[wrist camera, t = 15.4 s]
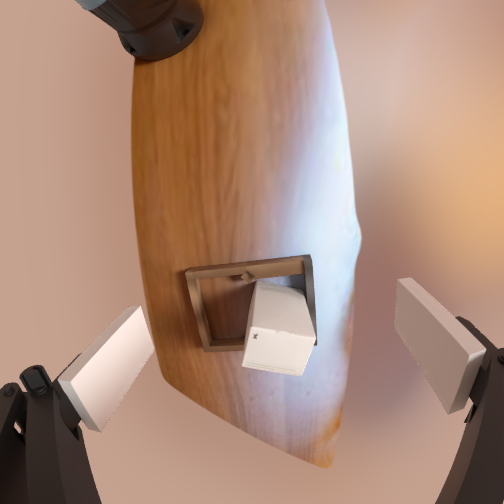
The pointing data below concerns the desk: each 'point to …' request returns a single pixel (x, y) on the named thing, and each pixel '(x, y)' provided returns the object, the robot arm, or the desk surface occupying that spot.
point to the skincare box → (278, 330)
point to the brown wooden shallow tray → (248, 272)
